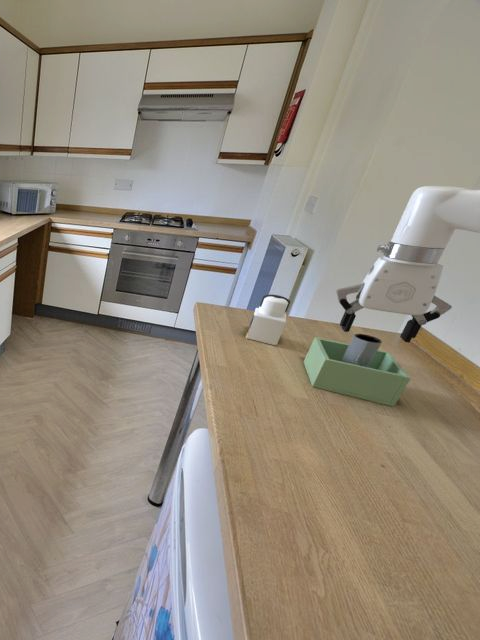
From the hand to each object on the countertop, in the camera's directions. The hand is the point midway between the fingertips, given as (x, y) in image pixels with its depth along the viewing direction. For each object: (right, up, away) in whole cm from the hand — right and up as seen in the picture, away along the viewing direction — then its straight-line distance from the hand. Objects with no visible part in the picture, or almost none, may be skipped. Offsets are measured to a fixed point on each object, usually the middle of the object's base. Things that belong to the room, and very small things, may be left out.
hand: (373, 334), depth 86 cm
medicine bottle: (-5, -1, +26) cm, 27 cm away
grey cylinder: (-1, -10, +5) cm, 11 cm away
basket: (-1, -11, +6) cm, 12 cm away
